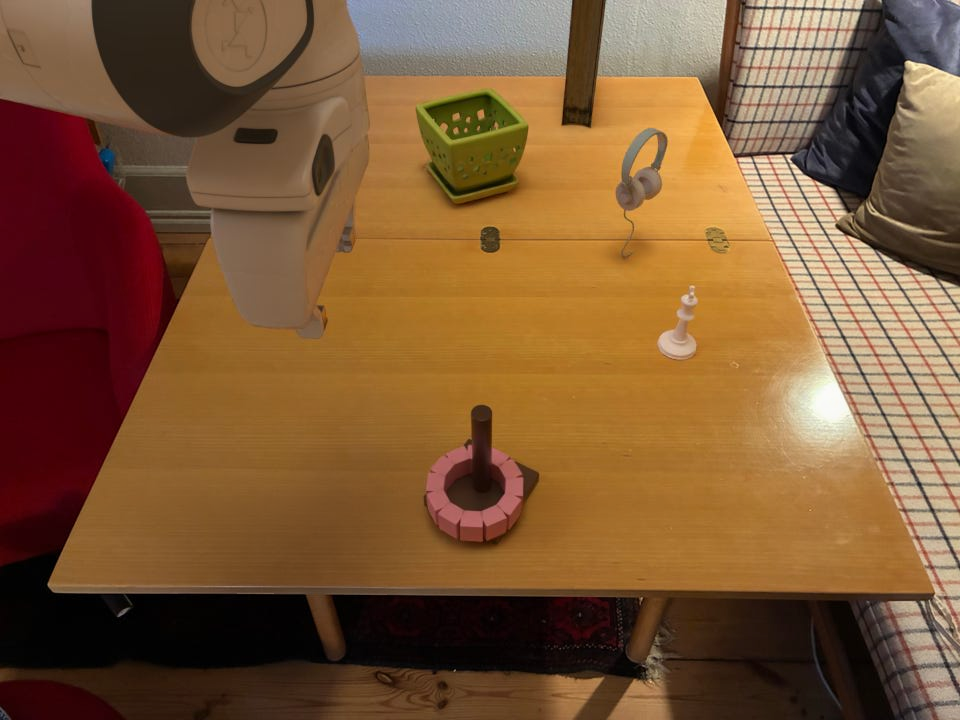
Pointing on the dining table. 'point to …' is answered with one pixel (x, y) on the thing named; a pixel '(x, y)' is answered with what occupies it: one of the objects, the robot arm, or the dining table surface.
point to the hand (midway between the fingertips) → (329, 286)
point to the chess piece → (680, 331)
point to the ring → (474, 522)
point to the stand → (483, 471)
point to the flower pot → (473, 144)
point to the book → (582, 60)
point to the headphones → (640, 175)
